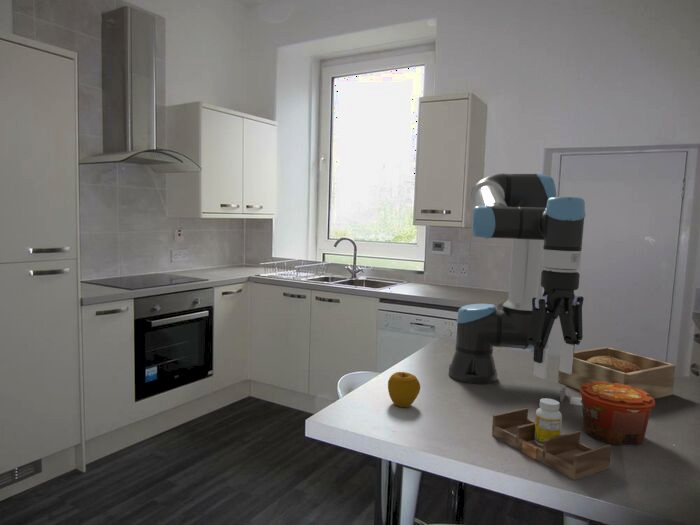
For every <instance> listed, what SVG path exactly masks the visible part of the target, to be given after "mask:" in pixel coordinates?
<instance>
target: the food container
mask: <svg viewBox="0 0 700 525" xmlns="http://www.w3.org/2000/svg"><path fill="white" fill-rule="evenodd" d="M578 391H579V393H580V395H581V398H582V406H581V407H582V408H581V409H582V410H581V411H582V426H583V427H582V428H583V430H584V432H585V433H586V434H587V435H589V436H591V437H592V438H594V439H596V440H598V441H602V442H605V443H608V444H612V445H618V446H625V447H633V446H634V447H635V446H639V445H641V444H643V442H644V440H645V437H646V436H645V435H646V432H647V427H648V424H649V420H650V417H651V412H652V409H654V408H655V407H656V401H655V399H653V398H652V397H650V395H649V394H648V393H647V392H645V391H643V390H640V389H634V388H632V387H631V386H628V385H624V384H619V383H614V384H612V383H607V382H603V381H594V382H591V383H585V384H583V386H581V387H580V388H579V390H578Z"/></svg>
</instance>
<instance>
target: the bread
mask: <svg viewBox="0 0 700 525" xmlns="http://www.w3.org/2000/svg"><path fill="white" fill-rule="evenodd" d="M587 362H590V363H594V364H597V365H600V366H604V367H607V368H610V369H614V370H617V371H620V372H624V373H630V372H635V371H640V370H642V369H641V368H640V367H639V366H637V365H635V364H633V363H630V362H627V361H623V360H620V359H617V358H614V357H610V356H593V357H591V358H589V359H588V360H587Z"/></svg>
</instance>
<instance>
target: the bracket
mask: <svg viewBox="0 0 700 525" xmlns="http://www.w3.org/2000/svg"><path fill="white" fill-rule="evenodd" d="M559 394H560V395H559V396H560V399H559V400H560V402H561V403H562V402H563V400H564V399H565V397H566V394H567V393H566V385H564V384H563V386H562V387H561V389H560V390H559ZM560 402H559V403H560ZM569 404H570V405H574V406H578V407H582V397H576V396H571V397H570V400H569Z"/></svg>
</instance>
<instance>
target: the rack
mask: <svg viewBox="0 0 700 525" xmlns="http://www.w3.org/2000/svg"><path fill="white" fill-rule="evenodd" d="M528 415H529V408H528V407H524V408H519V409H515V410H511V411H506V412H501V413H497V414H493V415H492V429H491V436H494V438H497V439H499V440H500V441H502V442H504V443H506V444H508V445H509V446H512V447H513V448H515V449H517V450H519V451H520V452H521V453H523V454H525V455H527V456H528V457H530V458H532V459H534V460H537V461H539V462H541V463H542V462H543V464H544V465H547V467H550V468H552V469H553V470H555V471H557V472H559V473H561V474H563V475H564V476H566V477H569V478H570V479H572V480H574V481H576V480H579V479H581V478H585V477H588V476H591V475H593V474H597V473H598V472H602V471H605V470H608V469H610V466H611V465H610V464H611V455H612V445H611V444H610V443H608V444H606V445H605V444H604V445H602V446H599V447H596V448H593V447H590V446H588V445H586V444H583V443H582V442H580V441H581V431H579V430H577V431H572V432H569V433H565V434H563V433H561V436H557V437H554V438H550V439H546V440H544V444H543V447H541V446H539V445H537V444H536V443H535V441H534V436H535V420H532V419H530V418H528V417H529V416H528Z"/></svg>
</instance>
